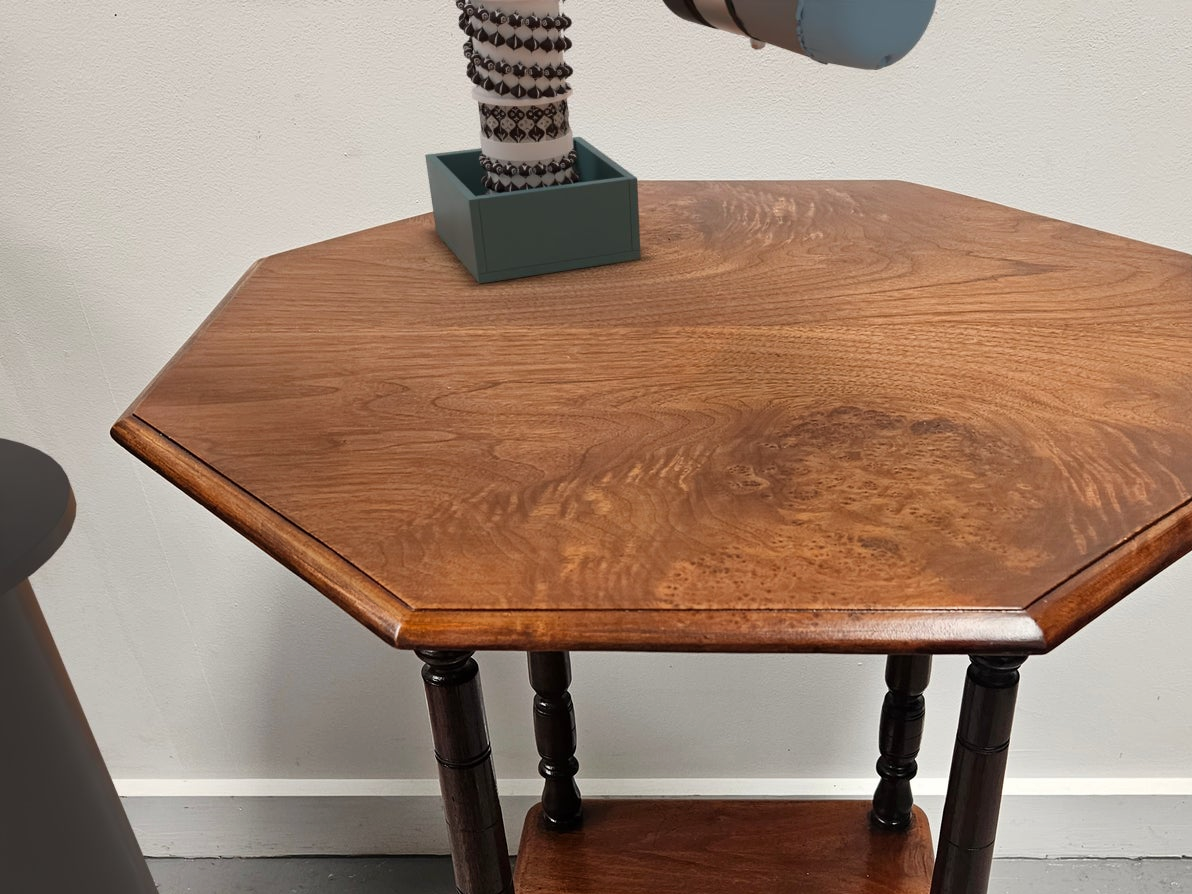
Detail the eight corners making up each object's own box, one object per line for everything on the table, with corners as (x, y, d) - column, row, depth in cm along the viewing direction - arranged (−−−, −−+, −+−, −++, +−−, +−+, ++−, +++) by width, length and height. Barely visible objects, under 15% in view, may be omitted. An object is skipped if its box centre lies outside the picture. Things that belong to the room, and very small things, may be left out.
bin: (479, 284, 105) (468, 199, 101) (436, 232, 115) (424, 154, 111) (641, 259, 110) (637, 177, 105) (585, 212, 120) (580, 136, 116)
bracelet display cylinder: (515, 215, 117) (481, -104, 101) (604, 227, 114) (584, -100, 98) (464, 246, 110) (420, -91, 94) (558, 259, 107) (528, -86, 92)
